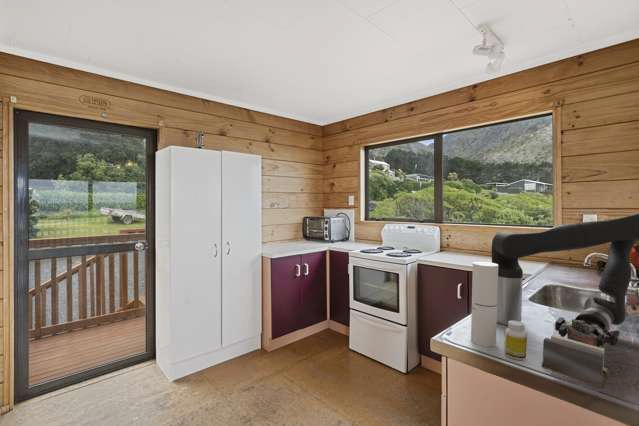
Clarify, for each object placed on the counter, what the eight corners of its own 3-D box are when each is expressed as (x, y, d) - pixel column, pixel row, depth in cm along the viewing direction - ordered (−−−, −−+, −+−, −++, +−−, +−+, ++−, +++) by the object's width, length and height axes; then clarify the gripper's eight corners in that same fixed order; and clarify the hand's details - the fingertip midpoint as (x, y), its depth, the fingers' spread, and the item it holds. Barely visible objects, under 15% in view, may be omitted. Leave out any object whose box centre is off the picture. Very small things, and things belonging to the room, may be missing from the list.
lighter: (562, 350, 93) (563, 316, 92) (573, 349, 93) (574, 316, 93) (587, 365, 85) (589, 328, 84) (599, 364, 85) (601, 327, 85)
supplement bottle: (529, 361, 90) (530, 327, 89) (508, 359, 91) (509, 325, 90) (521, 352, 95) (522, 320, 94) (501, 350, 96) (502, 318, 96)
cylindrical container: (486, 348, 97) (488, 267, 96) (466, 339, 104) (467, 262, 102) (501, 343, 101) (503, 264, 99) (480, 335, 107) (482, 260, 106)
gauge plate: (551, 355, 90) (552, 334, 90) (606, 372, 81) (607, 349, 81) (550, 357, 89) (551, 336, 89) (605, 374, 80) (606, 351, 80)
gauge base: (554, 353, 94) (555, 328, 94) (610, 371, 85) (611, 343, 84) (541, 366, 87) (542, 339, 87) (601, 387, 77) (602, 357, 77)
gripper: (564, 304, 103) (548, 316, 93) (626, 317, 92) (615, 333, 82) (563, 327, 104) (547, 342, 93) (624, 343, 93) (614, 361, 82)
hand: (579, 338), depth 87 cm, fingers closed on lighter, 7 cm apart
